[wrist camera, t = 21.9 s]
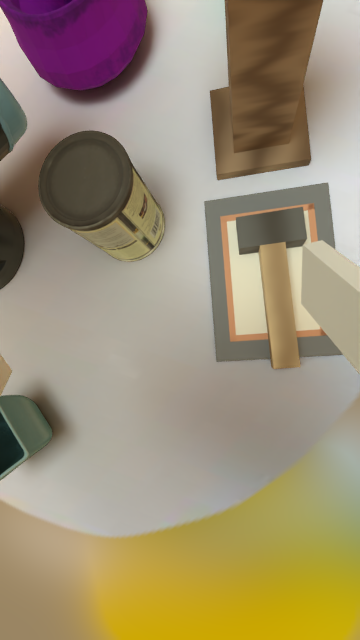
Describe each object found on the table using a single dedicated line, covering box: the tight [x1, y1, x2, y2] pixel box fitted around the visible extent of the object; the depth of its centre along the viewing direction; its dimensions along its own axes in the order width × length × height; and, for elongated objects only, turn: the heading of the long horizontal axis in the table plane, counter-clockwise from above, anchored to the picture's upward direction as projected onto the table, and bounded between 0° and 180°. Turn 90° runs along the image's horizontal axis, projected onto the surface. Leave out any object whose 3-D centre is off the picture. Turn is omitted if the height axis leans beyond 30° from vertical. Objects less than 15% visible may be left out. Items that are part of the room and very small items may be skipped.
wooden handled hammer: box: [236, 207, 307, 369], centre depth 39 cm, size 8×19×3 cm, turn 5°
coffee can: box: [39, 131, 165, 261], centre depth 39 cm, size 10×10×14 cm
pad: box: [204, 183, 343, 362], centre depth 41 cm, size 16×22×1 cm
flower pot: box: [0, 395, 52, 480], centre depth 42 cm, size 9×9×9 cm
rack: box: [210, 0, 323, 180], centre depth 29 cm, size 12×12×28 cm
